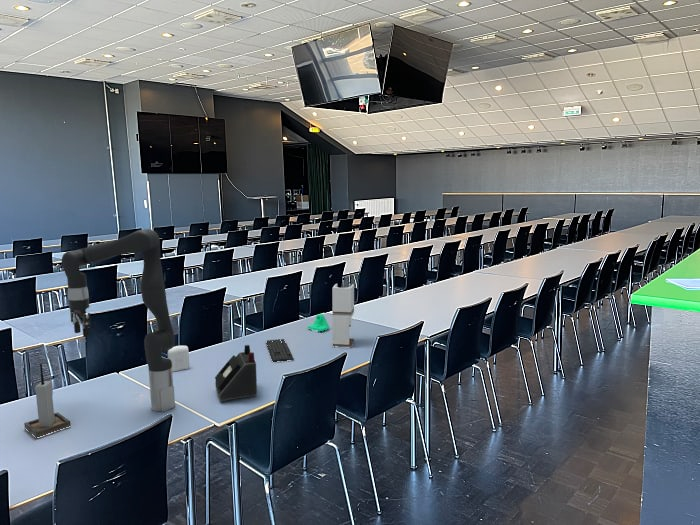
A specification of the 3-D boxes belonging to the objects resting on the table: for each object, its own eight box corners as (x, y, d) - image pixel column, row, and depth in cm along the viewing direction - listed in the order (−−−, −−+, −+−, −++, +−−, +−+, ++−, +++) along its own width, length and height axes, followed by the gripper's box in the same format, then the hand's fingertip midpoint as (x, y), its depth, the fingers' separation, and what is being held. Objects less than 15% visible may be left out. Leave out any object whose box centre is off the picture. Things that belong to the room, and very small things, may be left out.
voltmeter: (215, 389, 231) (213, 347, 227) (250, 384, 236) (249, 343, 233) (219, 404, 216) (217, 359, 213) (257, 398, 222) (255, 354, 218)
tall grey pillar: (351, 348, 287) (350, 288, 281) (332, 347, 289) (332, 287, 283) (354, 342, 298) (353, 284, 293) (336, 341, 300) (336, 283, 294)
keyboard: (293, 361, 267) (293, 358, 267) (272, 363, 264) (272, 360, 264) (284, 341, 301) (284, 338, 301) (265, 343, 298) (265, 340, 298)
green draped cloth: (307, 330, 323) (306, 314, 321) (314, 327, 329) (314, 312, 327) (321, 333, 316) (321, 317, 314) (329, 330, 322) (328, 315, 320)
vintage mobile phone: (56, 421, 197) (50, 360, 193) (49, 427, 192) (42, 365, 188) (46, 421, 197) (40, 360, 193) (39, 427, 192) (32, 365, 188)
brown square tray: (70, 427, 195) (70, 421, 195) (36, 439, 186) (35, 433, 186) (58, 418, 203) (57, 412, 203) (24, 429, 194) (24, 423, 193)
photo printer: (188, 366, 260) (186, 343, 258) (190, 368, 256) (189, 345, 254) (167, 370, 254) (166, 346, 252) (169, 373, 251) (168, 349, 249)
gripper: (62, 296, 213) (65, 333, 215) (76, 301, 204) (79, 340, 206) (80, 293, 218) (83, 329, 221) (95, 298, 209) (98, 335, 212)
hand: (82, 334), depth 214 cm, fingers open, 8 cm apart
